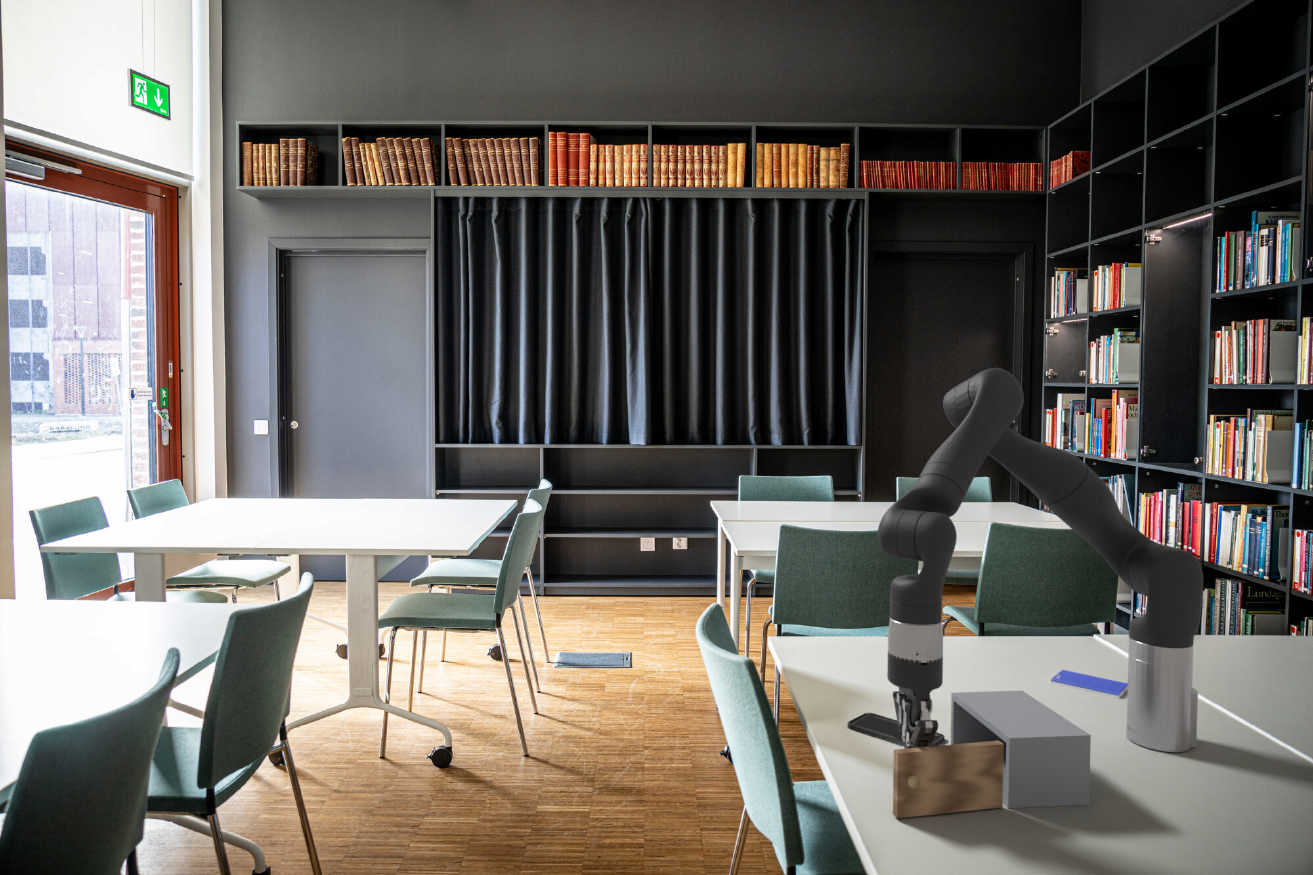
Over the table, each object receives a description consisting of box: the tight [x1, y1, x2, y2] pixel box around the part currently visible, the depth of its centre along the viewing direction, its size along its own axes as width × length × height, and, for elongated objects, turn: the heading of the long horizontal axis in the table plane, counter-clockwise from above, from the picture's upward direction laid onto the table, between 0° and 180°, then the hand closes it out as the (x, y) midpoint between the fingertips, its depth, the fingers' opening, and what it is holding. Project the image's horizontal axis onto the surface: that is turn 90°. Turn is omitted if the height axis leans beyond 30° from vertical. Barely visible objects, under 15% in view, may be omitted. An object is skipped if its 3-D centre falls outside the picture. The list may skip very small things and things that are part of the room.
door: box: [892, 741, 1004, 819], centre depth 112 cm, size 16×2×9 cm, turn 101°
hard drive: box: [1050, 669, 1128, 699], centre depth 164 cm, size 2×8×12 cm
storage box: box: [950, 690, 1092, 809], centre depth 123 cm, size 12×18×10 cm, turn 5°
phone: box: [847, 712, 945, 747], centre depth 139 cm, size 8×1×15 cm
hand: (913, 769), depth 116 cm, fingers closed
